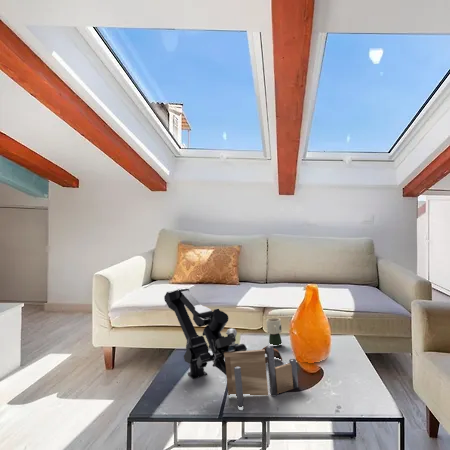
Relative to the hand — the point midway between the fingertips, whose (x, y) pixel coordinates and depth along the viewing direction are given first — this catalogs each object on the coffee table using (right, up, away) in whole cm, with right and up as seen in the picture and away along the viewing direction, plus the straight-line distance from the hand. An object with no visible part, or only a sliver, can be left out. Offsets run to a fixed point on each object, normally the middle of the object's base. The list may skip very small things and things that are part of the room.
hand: (230, 377), depth 136 cm
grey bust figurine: (+2, -7, +48) cm, 49 cm away
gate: (+6, -6, -1) cm, 9 cm away
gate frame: (+13, -6, -3) cm, 15 cm away
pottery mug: (+18, -6, +30) cm, 36 cm away
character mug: (+23, -5, +51) cm, 56 cm away
